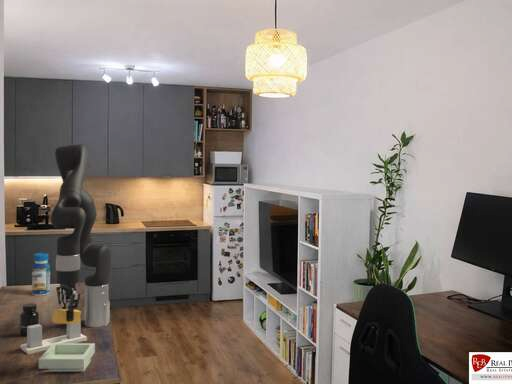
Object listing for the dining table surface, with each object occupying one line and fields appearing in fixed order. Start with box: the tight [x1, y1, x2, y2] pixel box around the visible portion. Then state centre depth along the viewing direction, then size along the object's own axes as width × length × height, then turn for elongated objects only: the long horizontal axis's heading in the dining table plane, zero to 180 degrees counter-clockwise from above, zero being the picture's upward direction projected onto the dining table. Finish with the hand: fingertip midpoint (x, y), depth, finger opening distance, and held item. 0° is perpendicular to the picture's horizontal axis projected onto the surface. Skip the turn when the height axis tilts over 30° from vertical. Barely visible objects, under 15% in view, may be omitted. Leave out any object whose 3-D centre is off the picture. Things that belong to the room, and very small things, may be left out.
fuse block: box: [20, 333, 88, 355], centre depth 180 cm, size 21×7×2 cm, turn 134°
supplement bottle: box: [19, 302, 40, 338], centre depth 190 cm, size 7×7×12 cm
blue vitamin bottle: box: [31, 252, 51, 297], centre depth 250 cm, size 8×8×20 cm
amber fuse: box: [51, 308, 82, 325], centre depth 165 cm, size 4×3×8 cm
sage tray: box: [38, 342, 96, 373], centre depth 166 cm, size 14×14×4 cm
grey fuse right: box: [66, 317, 82, 339], centre depth 185 cm, size 4×3×8 cm
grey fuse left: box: [26, 323, 43, 348], centre depth 175 cm, size 4×3×8 cm
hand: (67, 319), depth 166 cm, fingers closed on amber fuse, 3 cm apart
